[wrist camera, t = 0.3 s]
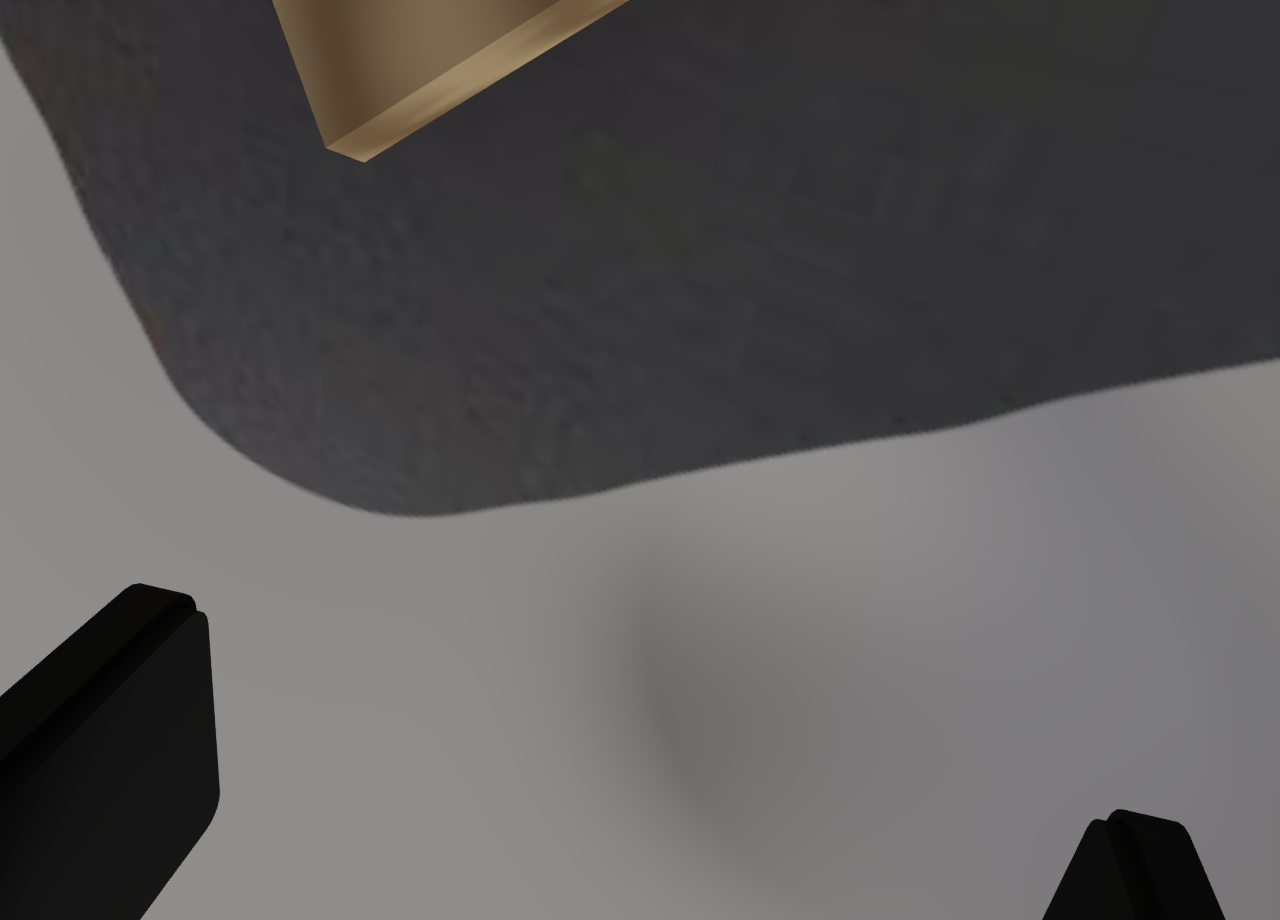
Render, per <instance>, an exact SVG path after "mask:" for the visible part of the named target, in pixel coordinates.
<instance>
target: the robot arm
mask: <svg viewBox="0 0 1280 920" xmlns="http://www.w3.org/2000/svg"><path fill="white" fill-rule="evenodd" d="M213 699H214V698H213V684H212V669H211V655H210V641H209V625H208V619H207V616H206V615H205V613H203V612H201V611H197V609H196V604H195V601H194V600H193V598H192V597H191V596H190V595H187V594H184V593H180V592H175V591H171V590H167V589H162V588H158V587H154V586H149V585H145V584H141V583H139V584H133V585H131V586H129V587H128V588H126V589H125V590H123V591H122V592H121V593H120V594H119V595H118V596H116V597H115V598H114V599H113V600H112V601H111V602H110V603H108V604H107V605H106V606H105V607H104V608H102V609H101V610H100V611H99V612H98V613H97V614H96V615H94V616H93V617H92V618H91V619H90V620H88V621H87V622H86V623H85V624H84V625H83V626H82V627H80V628H79V629H78V630H77V631H76V632H75V633H73V634H72V635H71V636H70V637H69V638H68V639H66V640H65V641H64V642H63V643H62V644H61V645H59V646H58V647H57V648H56V649H55V650H54V651H52V652H51V653H50V654H49V655H48V656H47V657H46V658H44V659H43V660H42V661H41V662H40V663H39V664H37V665H36V666H35V667H34V668H33V669H32V670H31V671H29V672H28V673H27V674H26V675H25V676H24V677H22V679H20V680H19V681H18V682H17V683H15V684H14V685H13V686H12V687H11V688H10V689H8V690H7V691H6V692H5V693H4V694H3V695H1V697H0V920H140V919H141V918H142V916H143V915H144V914H145V912H146V911H147V910H148V908H149V907H150V906H151V904H152V903H153V902H154V900H155V899H156V897H157V896H158V895H159V893H160V892H161V891H162V889H163V888H164V886H165V885H166V884H167V882H168V881H169V879H170V878H171V877H172V876H173V874H174V873H175V871H176V870H177V869H178V867H179V866H180V865H181V863H182V862H183V861H184V859H185V858H186V857H187V855H188V854H189V853H190V851H191V850H192V848H193V847H194V846H195V844H196V843H197V842H198V840H199V839H200V837H201V836H202V835H203V833H204V832H205V831H206V829H207V828H208V826H209V825H210V823H211V821H212V819H213V817H214V815H215V812H216V809H217V806H218V802H219V797H220V788H219V787H220V786H219V772H218V758H217V742H216V728H215V713H214V700H213ZM1042 920H1225V918H1224V915H1223V913H1222V911H1221V908H1220V906H1219V903H1218V901H1217V899H1216V896H1215V894H1214V892H1213V889H1212V887H1211V884H1210V882H1209V880H1208V878H1207V875H1206V873H1205V871H1204V868H1203V866H1202V863H1201V861H1200V859H1199V856H1198V854H1197V852H1196V849H1195V847H1194V845H1193V842H1192V840H1191V837H1190V836H1189V834H1188V832H1187V830H1186V829H1185V827H1184V826H1183V825H1181V824H1180V823H1179V822H1175V821H1171V820H1167V819H1162V818H1157V817H1154V816H1149V815H1145V814H1140V813H1136V812H1132V811H1128V810H1122V809H1117V810H1115V811H1114V812H1113V813H1111V815H1110V816H1109V818H1108V819H1107V820H1106V821H1104V820H1100V819H1095V820H1093V821H1092V822H1091V823H1090V824H1089V826H1088V827H1087V829H1086V831H1085V833H1084V835H1083V837H1082V839H1081V841H1080V843H1079V845H1078V847H1077V850H1076V852H1075V854H1074V856H1073V858H1072V860H1071V862H1070V864H1069V866H1068V868H1067V870H1066V872H1065V874H1064V876H1063V878H1062V880H1061V882H1060V884H1059V886H1058V888H1057V890H1056V892H1055V895H1054V897H1053V899H1052V901H1051V903H1050V905H1049V907H1048V909H1047V911H1046V913H1045V915H1044V917H1043V919H1042Z"/></svg>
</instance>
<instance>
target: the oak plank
mask: <svg viewBox="0 0 1280 920" xmlns="http://www.w3.org/2000/svg"><path fill="white" fill-rule="evenodd" d="M272 1H273V4H274V7H275V9H276V12H277V15H278V18H279V20H280V23H281V26H282V29H283V31H284V34H285V37H286V40H287V42H288V45H289V48H290V51H291V53H292V56H293V59H294V62H295V64H296V67H297V70H298V73H299V75H300V78H301V81H302V84H303V86H304V89H305V92H306V95H307V97H308V100H309V103H310V106H311V108H312V111H313V114H314V117H315V119H316V122H317V125H318V128H319V130H320V133H321V136H322V139H323V141H324V144H325V147H326V148H327V149H330V150H333V151H335V152H338V153H341V154H343V155H346V156H348V157H351V158H354V159H356V160H359V161H362V162H366V161H367V160H369V159H371V158H372V157H374V156H375V155H377V154H379V153H380V152H382V151H384V150H385V149H387V148H389V147H390V146H392V145H393V144H395V143H397V142H398V141H400V140H402V139H403V138H405V137H406V136H408V135H410V134H411V133H413V132H415V131H416V130H418V129H420V128H421V127H423V126H424V125H426V124H428V123H429V122H431V121H433V120H434V119H436V118H437V117H439V116H441V115H442V114H444V113H446V112H447V111H449V110H451V109H452V108H454V107H455V106H457V105H459V104H460V103H462V102H464V101H465V100H467V99H468V98H470V97H472V96H473V95H475V94H477V93H478V92H480V91H482V90H483V89H485V88H486V87H488V86H490V85H491V84H493V83H495V82H496V81H498V80H499V79H501V78H503V77H504V76H506V75H508V74H509V73H511V72H513V71H514V70H516V69H517V68H519V67H521V66H522V65H524V64H526V63H527V62H529V61H531V60H532V59H534V58H535V57H537V56H539V55H540V54H542V53H544V52H545V51H547V50H548V49H550V48H552V47H553V46H555V45H557V44H558V43H560V42H562V41H563V40H565V39H566V38H568V37H570V36H571V35H573V34H575V33H576V32H578V31H579V30H581V29H583V28H584V27H586V26H588V25H589V24H591V23H593V22H594V21H596V20H597V19H599V18H601V17H602V16H604V15H606V14H607V13H609V12H610V11H612V10H614V9H615V8H617V7H619V6H620V5H622V4H624V3H625V2H627V1H628V0H272Z"/></svg>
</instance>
